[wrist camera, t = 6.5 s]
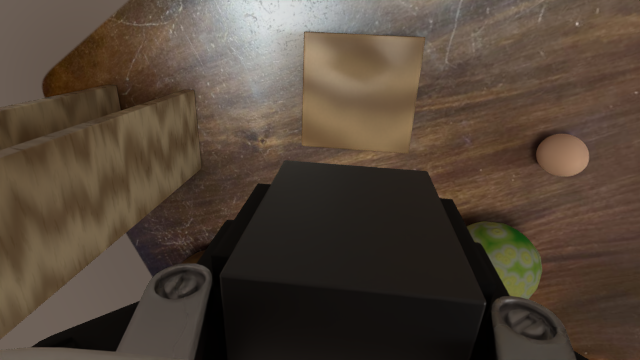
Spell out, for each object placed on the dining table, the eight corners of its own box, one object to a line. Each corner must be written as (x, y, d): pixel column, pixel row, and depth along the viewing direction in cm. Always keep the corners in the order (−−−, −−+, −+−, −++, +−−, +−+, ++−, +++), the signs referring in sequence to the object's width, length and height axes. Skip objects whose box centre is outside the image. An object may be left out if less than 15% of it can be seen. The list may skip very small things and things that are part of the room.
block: (284, 159, 11) (218, 274, 6) (428, 170, 11) (489, 302, 6) (284, 273, 13) (233, 437, 8) (407, 286, 12) (439, 467, 7)
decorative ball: (439, 273, 48) (456, 330, 39) (440, 208, 45) (460, 254, 36) (516, 271, 47) (553, 330, 38) (524, 204, 43) (567, 250, 34)
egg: (525, 135, 40) (550, 150, 35) (568, 123, 39) (600, 137, 34) (531, 170, 42) (555, 190, 36) (572, 159, 41) (603, 178, 35)
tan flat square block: (308, 31, 38) (304, 31, 36) (421, 36, 37) (425, 37, 35) (305, 138, 43) (301, 145, 40) (405, 145, 42) (408, 153, 39)
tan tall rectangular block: (107, 84, 43) (-340, 177, 16) (194, 90, 42) (-119, 199, 15) (121, 161, 47) (-216, 345, 20) (201, 168, 46) (-35, 370, 19)
